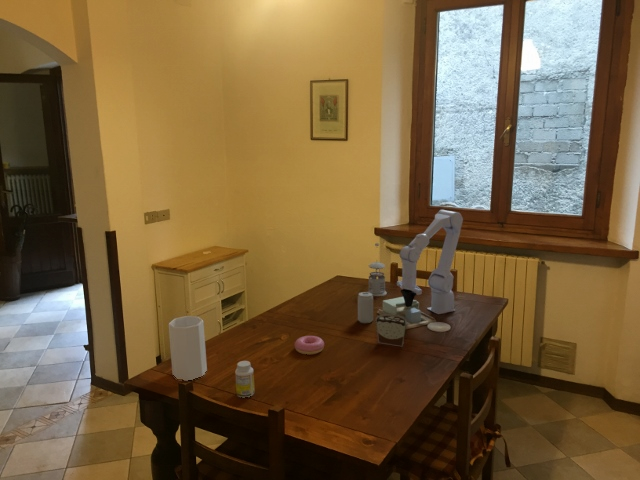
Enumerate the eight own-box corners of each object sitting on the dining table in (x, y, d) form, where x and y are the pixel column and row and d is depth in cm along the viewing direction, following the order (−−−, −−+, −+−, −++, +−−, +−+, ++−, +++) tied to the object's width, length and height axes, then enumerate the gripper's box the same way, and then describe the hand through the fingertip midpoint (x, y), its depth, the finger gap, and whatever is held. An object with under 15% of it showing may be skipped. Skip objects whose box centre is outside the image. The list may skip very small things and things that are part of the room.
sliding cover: (405, 306, 230) (406, 294, 229) (418, 313, 222) (419, 300, 221) (382, 311, 225) (382, 298, 224) (395, 318, 216) (395, 305, 215)
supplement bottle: (246, 387, 164) (244, 357, 161) (258, 393, 160) (256, 362, 158) (232, 395, 159) (230, 364, 157) (244, 400, 156) (243, 369, 154)
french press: (365, 295, 250) (365, 245, 244) (367, 288, 261) (367, 239, 255) (386, 296, 248) (387, 245, 243) (387, 289, 259) (387, 240, 254)
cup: (189, 384, 166) (185, 330, 162) (165, 376, 172) (160, 323, 168) (214, 370, 175) (210, 319, 171) (190, 363, 181) (186, 313, 177)
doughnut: (290, 354, 188) (289, 343, 187) (301, 342, 198) (301, 332, 197) (318, 358, 184) (318, 347, 183) (328, 345, 194) (328, 335, 193)
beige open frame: (405, 307, 233) (405, 303, 232) (435, 322, 214) (435, 318, 214) (377, 313, 226) (377, 309, 226) (406, 329, 208) (406, 325, 207)
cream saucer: (440, 322, 215) (440, 320, 215) (455, 329, 207) (455, 327, 207) (422, 326, 211) (422, 324, 211) (437, 333, 203) (437, 332, 203)
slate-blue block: (414, 319, 219) (414, 307, 218) (420, 322, 215) (421, 311, 214) (405, 320, 217) (405, 309, 216) (411, 324, 213) (412, 312, 212)
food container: (410, 341, 196) (411, 316, 194) (406, 347, 191) (407, 321, 189) (379, 336, 202) (380, 311, 199) (374, 342, 196) (374, 317, 194)
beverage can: (373, 318, 220) (373, 291, 217) (373, 324, 214) (373, 296, 211) (357, 318, 221) (357, 291, 218) (357, 323, 214) (357, 296, 212)
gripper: (391, 272, 219) (390, 302, 222) (411, 281, 206) (411, 313, 209) (404, 270, 222) (404, 300, 225) (426, 278, 210) (425, 310, 213)
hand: (408, 306), depth 218 cm, fingers closed
